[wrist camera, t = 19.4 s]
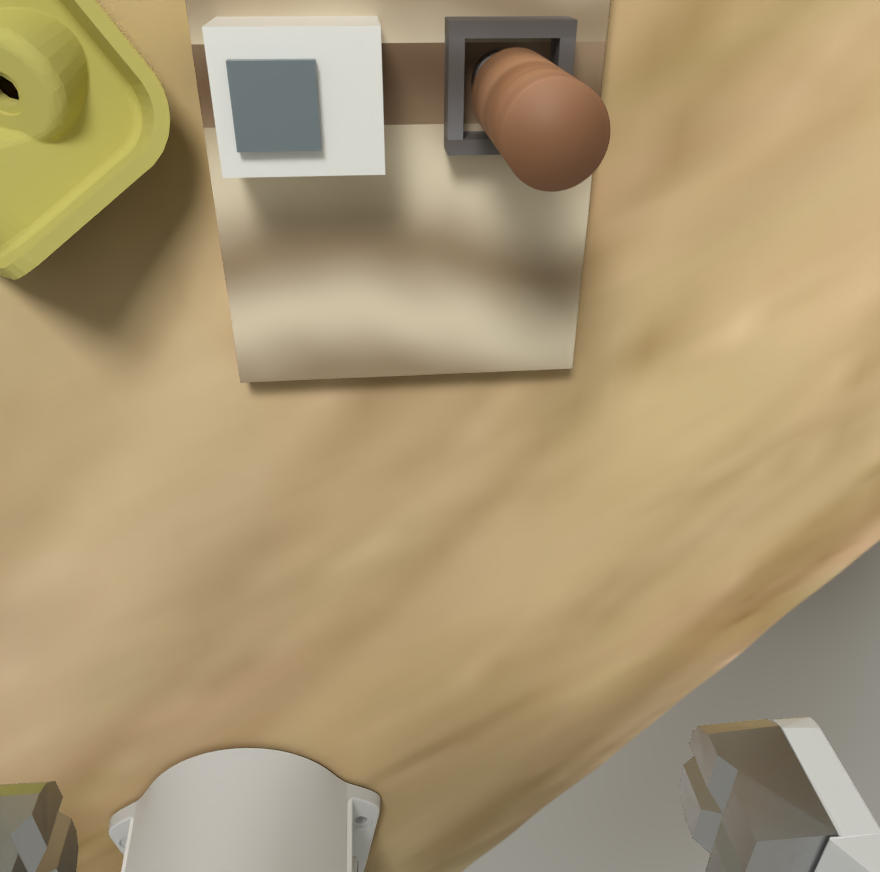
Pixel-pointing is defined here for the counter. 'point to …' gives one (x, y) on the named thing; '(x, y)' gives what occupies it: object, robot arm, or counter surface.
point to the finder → (297, 95)
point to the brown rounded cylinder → (539, 118)
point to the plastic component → (69, 123)
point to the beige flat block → (410, 211)
